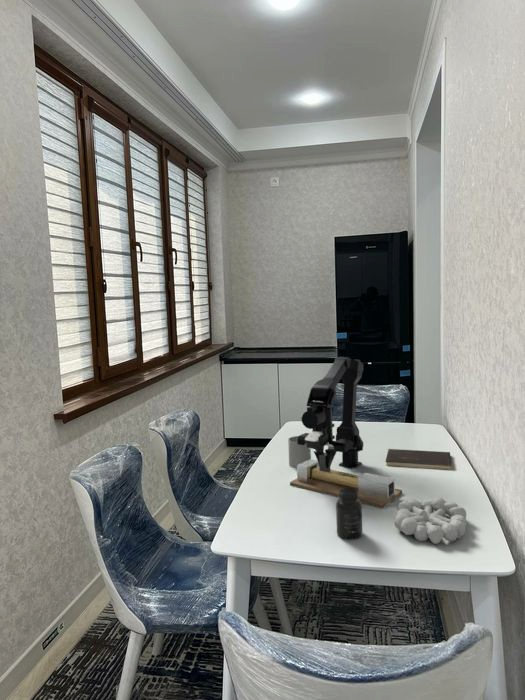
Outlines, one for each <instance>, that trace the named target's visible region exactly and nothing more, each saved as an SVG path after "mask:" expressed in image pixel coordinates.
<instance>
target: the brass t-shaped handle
mask: <svg viewBox="0 0 525 700" xmlns="http://www.w3.org/2000/svg"><path fill="white" fill-rule="evenodd" d="M360 476H361V475H358V474H353V473H349V472H344V471H339V470H335V469H331V467H330V468H327V453H326V452H324V453H321V454H319V467H317V466H312V467H310V477H312V478H316V479H321V480H325V481H329V482H334V483H338V484H342V485H346V486H351V487H355V488H358V477H360Z"/></svg>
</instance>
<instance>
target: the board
mask: <svg viewBox="0 0 525 700" xmlns="http://www.w3.org/2000/svg"><path fill="white" fill-rule="evenodd" d="M289 485H290V486H294V487H297V488H301V489H304V490H307V491H308V490H309V491H312V492H316V493H322V494H325V495H327V496H328V495H329V496H332V497H337V498H339V491H340V490H341V489H343V488H353V489H356V490H357V491H358V488H355V487H351V486H346V485H342V484H338V483H334V482H329V481H325V480H321V479H316V478H314V479H312V480H311V481H309V482H303V481H299V480H297V478H296V479H292V480H291V481H290V482H289ZM402 494H403V489H399V488H395V495H393V496H392V497H391V498H389V499H388V500H387V499H383V498H379V497H375V496H370V495H366V494H362V493H358V500H359V501H360V502H361V504H364V505H369V506H372V507H375V508H380V509H384V508H386V507H387V505H389V504H390V503H391V502H393V501H395V499H397V498H398V497H399V496H401V495H402Z"/></svg>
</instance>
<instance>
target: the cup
mask: <svg viewBox="0 0 525 700" xmlns="http://www.w3.org/2000/svg"><path fill="white" fill-rule="evenodd" d="M298 436H299V435H296V436H295V435H294V436H291V437H289V438H288V440H287V442H288V465H289V467H290V468H293V469H297V465H299V464H301V463H303V462H305V461H307V460H309V459H312V455H311V453H312V450H311V449H309V448H307V445H306V444H305V445H299V444H297V438H298Z"/></svg>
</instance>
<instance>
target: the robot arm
mask: <svg viewBox="0 0 525 700" xmlns="http://www.w3.org/2000/svg"><path fill="white" fill-rule="evenodd" d="M363 372H364V364H363V362H361V360H360V359H352V358H350V357H346V356H345V357H344V356H338V357H334V361H333V364H332V365H331V366H330V368H329V369H328V370H327V373H326V374H325V376H324V377H323V378H322V379H320V380H318V381H316V382H315V383H314V384H313V385H312V387H311V388H310V392H309V394H308V397H307V398H308V399H307V402H306V406H307V407H306V411H304V412H303V414H302V416H301V423H302V425H303V426H304V427H305V428H306V429H309V430H312V432H310V433H309V432H305V433H302V434H300V435H297V436H298V438H297V444H299V445H305V444H306V445H307V448H309V449H311V452H312V451H313V453H314V455H315V457H316V460H317V461H318V463H319V454H321V453H327V468H330V469H331V465H332V463H333V461H334V459H335V456H336V454H337V452H338V453H342V454H341V457H342V458H341V460H342V461H341V462H340V463H338V466H340V467H346V468H349V469H355V468H357V467H359V466H360V465H362V464H363V462H361V461H359V452H361V451H363V450H364V449H363V448H364V441H363V439H362V437H361V435H360V429H359V427H358V426H357V424H356V411H357V389H358V387H357V386H358V383H359V382H360V380H361V379H362V377H363ZM340 380H341V381H342V382H343V394H342V395H343V396H342V400H343V401H342V417H341V423H340V425H339V426H337V427H336V433H335V435H333V434H334V433H333V432H334V431H333V428H334V427H335V423H333V408H332V407H334V406H335V405H334V400H335V398H336V396H337V390H336V388H337V385H338V384H339V382H340ZM334 439H335V440H334ZM325 446H327V448H326V449H325V450H324V448H325Z"/></svg>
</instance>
